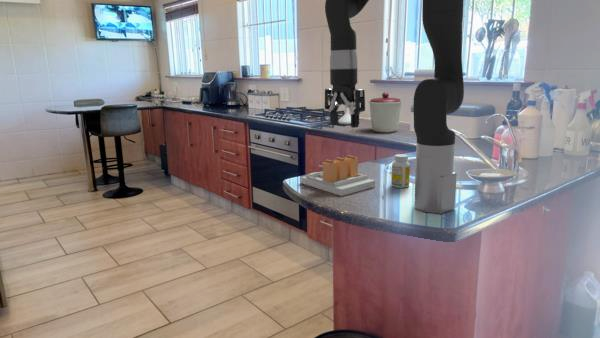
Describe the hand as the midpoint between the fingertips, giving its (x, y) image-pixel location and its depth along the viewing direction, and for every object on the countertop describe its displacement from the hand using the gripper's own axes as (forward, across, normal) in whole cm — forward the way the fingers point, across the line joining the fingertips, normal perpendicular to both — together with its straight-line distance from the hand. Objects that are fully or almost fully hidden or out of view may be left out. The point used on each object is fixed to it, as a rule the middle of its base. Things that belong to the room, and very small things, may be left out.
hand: (344, 126), depth 123 cm
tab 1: (+18, +7, 0) cm, 19 cm away
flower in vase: (+19, +106, -99) cm, 146 cm away
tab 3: (+18, +7, -9) cm, 21 cm away
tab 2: (+18, +7, -4) cm, 19 cm away
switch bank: (+20, +8, -4) cm, 22 cm away
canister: (+20, +70, -94) cm, 119 cm away
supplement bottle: (+20, -6, -18) cm, 28 cm away
